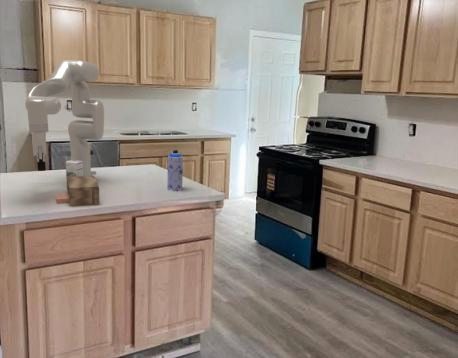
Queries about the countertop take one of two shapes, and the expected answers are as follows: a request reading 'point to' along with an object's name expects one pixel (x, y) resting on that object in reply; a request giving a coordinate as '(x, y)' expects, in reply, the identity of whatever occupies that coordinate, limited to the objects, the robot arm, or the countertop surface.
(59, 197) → the panel
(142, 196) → the countertop surface
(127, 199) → the countertop surface
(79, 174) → the syrup box
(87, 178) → the brown box
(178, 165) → the aerosol can
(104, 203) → the countertop surface
